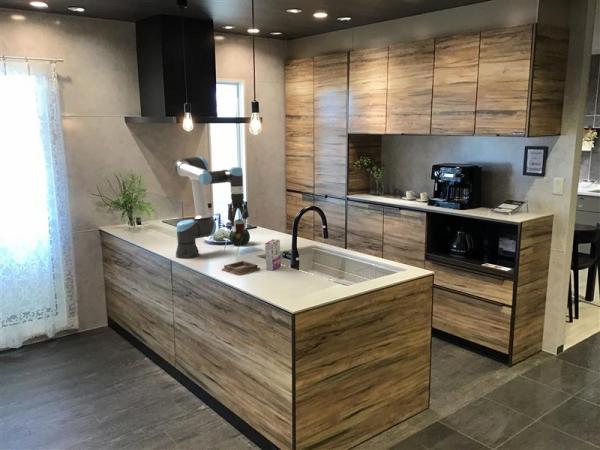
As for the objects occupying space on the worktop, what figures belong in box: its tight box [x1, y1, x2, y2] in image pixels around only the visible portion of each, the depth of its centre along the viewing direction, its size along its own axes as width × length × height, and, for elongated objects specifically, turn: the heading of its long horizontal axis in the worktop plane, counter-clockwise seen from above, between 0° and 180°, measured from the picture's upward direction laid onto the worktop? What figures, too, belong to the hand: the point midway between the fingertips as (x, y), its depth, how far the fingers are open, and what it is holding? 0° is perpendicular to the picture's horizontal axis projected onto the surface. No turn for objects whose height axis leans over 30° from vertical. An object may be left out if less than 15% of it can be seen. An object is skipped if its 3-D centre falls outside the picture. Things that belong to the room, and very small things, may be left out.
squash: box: [228, 228, 251, 246], centre depth 373 cm, size 14×15×15 cm
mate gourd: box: [234, 209, 247, 234], centre depth 315 cm, size 8×8×15 cm
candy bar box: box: [264, 238, 282, 271], centre depth 308 cm, size 11×5×16 cm, turn 158°
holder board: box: [221, 260, 261, 276], centre depth 306 cm, size 16×16×3 cm
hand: (239, 230), depth 316 cm, fingers closed on mate gourd, 7 cm apart
